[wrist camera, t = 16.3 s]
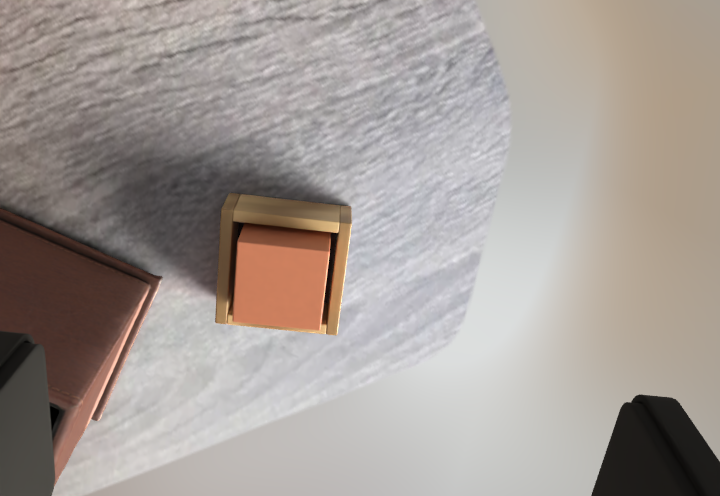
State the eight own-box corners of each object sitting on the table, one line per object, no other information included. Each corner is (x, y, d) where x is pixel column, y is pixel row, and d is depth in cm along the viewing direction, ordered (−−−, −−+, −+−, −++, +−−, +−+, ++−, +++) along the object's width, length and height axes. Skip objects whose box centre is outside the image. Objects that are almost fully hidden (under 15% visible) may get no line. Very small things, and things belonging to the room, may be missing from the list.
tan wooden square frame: (351, 206, 36) (351, 223, 33) (337, 312, 38) (337, 335, 36) (228, 192, 35) (220, 208, 33) (223, 300, 38) (215, 323, 36)
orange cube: (331, 220, 36) (329, 251, 32) (322, 294, 38) (320, 331, 34) (248, 211, 36) (237, 240, 32) (243, 286, 37) (232, 322, 34)
